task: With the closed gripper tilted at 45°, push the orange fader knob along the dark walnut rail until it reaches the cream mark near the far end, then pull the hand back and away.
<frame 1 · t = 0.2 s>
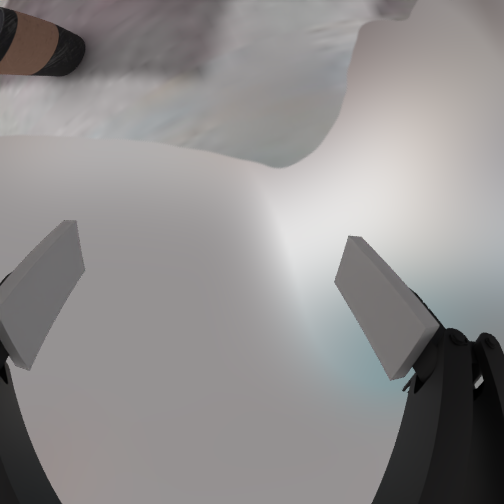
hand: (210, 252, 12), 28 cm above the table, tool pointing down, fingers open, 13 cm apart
travel mug: (66, 55, 25), on the table
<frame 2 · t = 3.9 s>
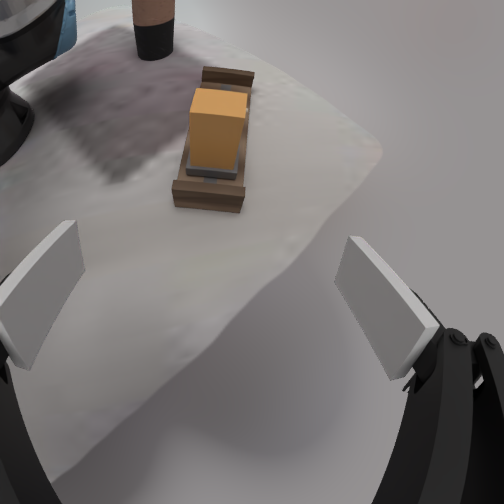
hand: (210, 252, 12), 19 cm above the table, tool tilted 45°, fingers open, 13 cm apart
travel mug: (155, 52, 40), on the table
fader rail: (217, 137, 36), on the table
fader knob: (215, 135, 27), point 8 cm above the table, slide at 0.0 cm
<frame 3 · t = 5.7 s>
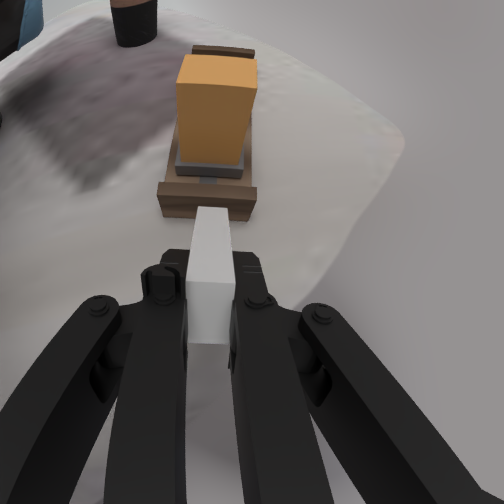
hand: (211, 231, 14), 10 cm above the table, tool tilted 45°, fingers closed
travel mug: (137, 38, 32), on the table
fader rail: (213, 127, 28), on the table
fader knob: (213, 119, 20), point 8 cm above the table, slide at 0.0 cm
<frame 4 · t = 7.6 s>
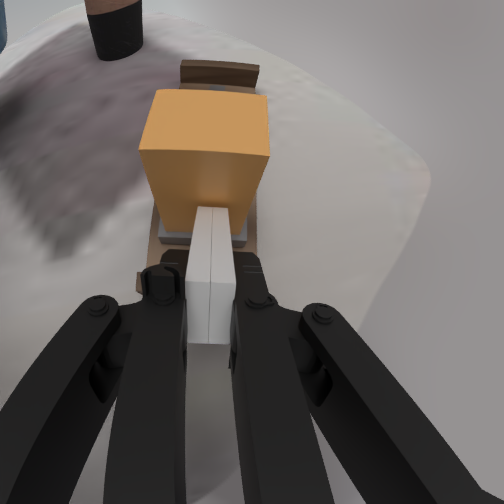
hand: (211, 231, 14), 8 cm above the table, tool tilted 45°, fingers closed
travel mug: (120, 49, 28), on the table
fader rail: (208, 171, 24), on the table
fader knob: (204, 180, 15), point 8 cm above the table, slide at 0.5 cm, touching gripper
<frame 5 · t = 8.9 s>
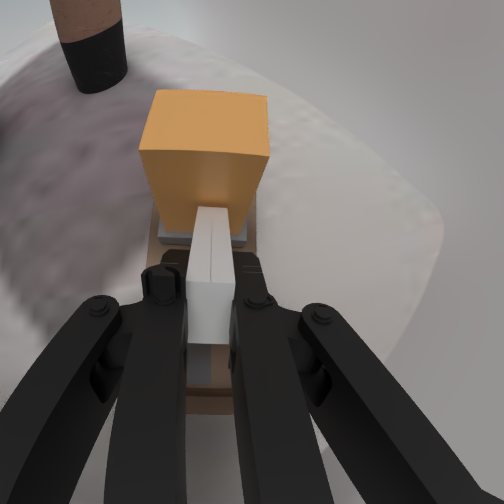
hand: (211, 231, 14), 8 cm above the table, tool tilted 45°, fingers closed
travel mug: (102, 77, 26), on the table
fader rail: (202, 251, 22), on the table
fader knob: (204, 180, 15), point 8 cm above the table, slide at 8.0 cm, touching gripper
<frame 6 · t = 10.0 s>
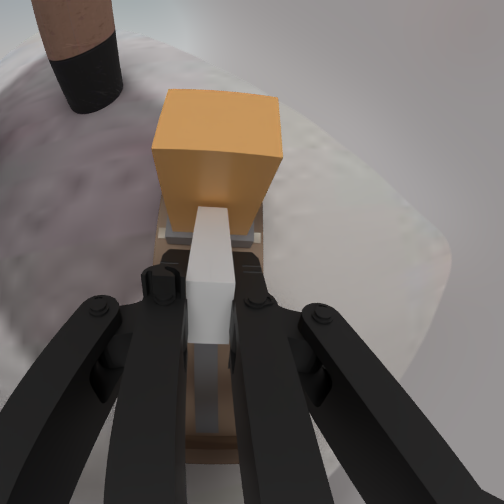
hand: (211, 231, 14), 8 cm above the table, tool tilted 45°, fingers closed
travel mug: (96, 95, 25), on the table
fader rail: (206, 299, 21), on the table
fader knob: (213, 181, 15), point 8 cm above the table, slide at 11.8 cm, touching gripper
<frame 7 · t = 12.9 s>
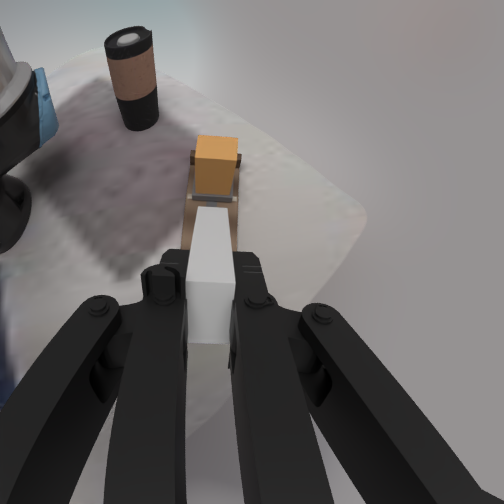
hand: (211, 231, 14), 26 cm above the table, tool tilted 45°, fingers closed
travel mug: (141, 119, 46), on the table
fader rail: (209, 229, 42), on the table
fader knob: (214, 170, 36), point 8 cm above the table, slide at 11.9 cm
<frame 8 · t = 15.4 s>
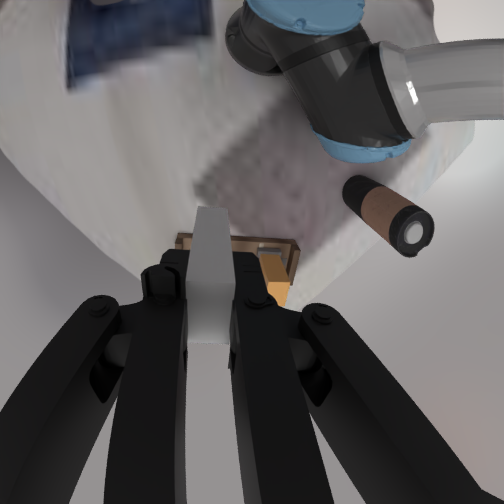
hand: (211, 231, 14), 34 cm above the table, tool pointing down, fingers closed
travel mug: (357, 191, 51), on the table
fader rail: (235, 254, 55), on the table
fader knob: (271, 276, 49), point 8 cm above the table, slide at 11.9 cm
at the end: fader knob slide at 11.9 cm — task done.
